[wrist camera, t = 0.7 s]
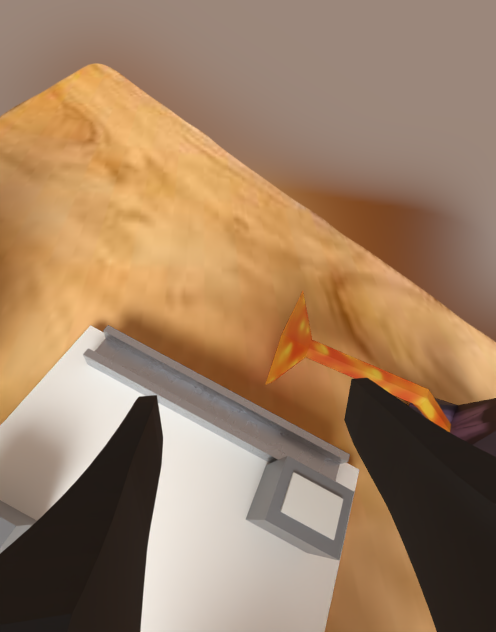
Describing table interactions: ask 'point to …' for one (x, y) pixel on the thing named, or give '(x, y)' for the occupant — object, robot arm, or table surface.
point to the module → (12, 524)
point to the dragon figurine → (385, 383)
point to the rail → (211, 404)
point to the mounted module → (302, 507)
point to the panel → (170, 507)
